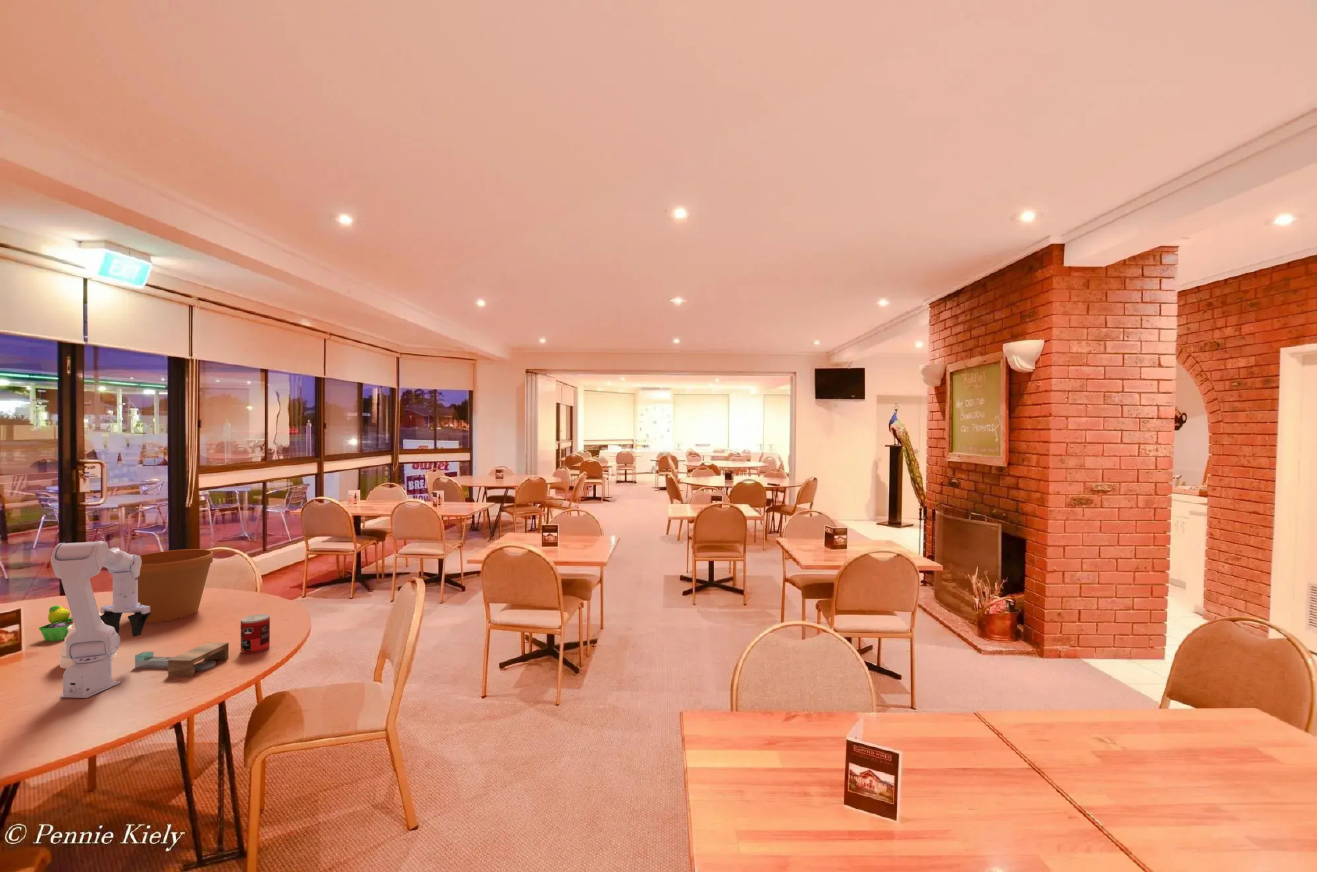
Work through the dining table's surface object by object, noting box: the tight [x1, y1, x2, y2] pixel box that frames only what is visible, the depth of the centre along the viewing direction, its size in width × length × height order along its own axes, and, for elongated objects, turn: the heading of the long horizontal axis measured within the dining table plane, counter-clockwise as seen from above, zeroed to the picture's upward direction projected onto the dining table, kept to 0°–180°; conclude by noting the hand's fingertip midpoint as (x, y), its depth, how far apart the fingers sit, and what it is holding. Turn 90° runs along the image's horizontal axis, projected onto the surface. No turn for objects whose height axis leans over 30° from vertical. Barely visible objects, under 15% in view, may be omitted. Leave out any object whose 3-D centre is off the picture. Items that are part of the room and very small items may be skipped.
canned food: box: [240, 613, 271, 655], centre depth 188 cm, size 8×8×11 cm
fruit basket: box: [38, 604, 74, 642], centre depth 199 cm, size 11×9×11 cm
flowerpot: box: [137, 548, 214, 624], centre depth 222 cm, size 28×28×24 cm
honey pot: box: [59, 612, 118, 670], centre depth 179 cm, size 13×13×18 cm
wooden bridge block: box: [167, 641, 230, 678], centre depth 174 cm, size 14×7×5 cm, turn 177°
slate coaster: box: [194, 660, 216, 672], centre depth 174 cm, size 6×6×1 cm
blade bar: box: [134, 651, 175, 669], centre depth 174 cm, size 3×15×4 cm, turn 88°
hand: (125, 635), depth 175 cm, fingers open, 7 cm apart
